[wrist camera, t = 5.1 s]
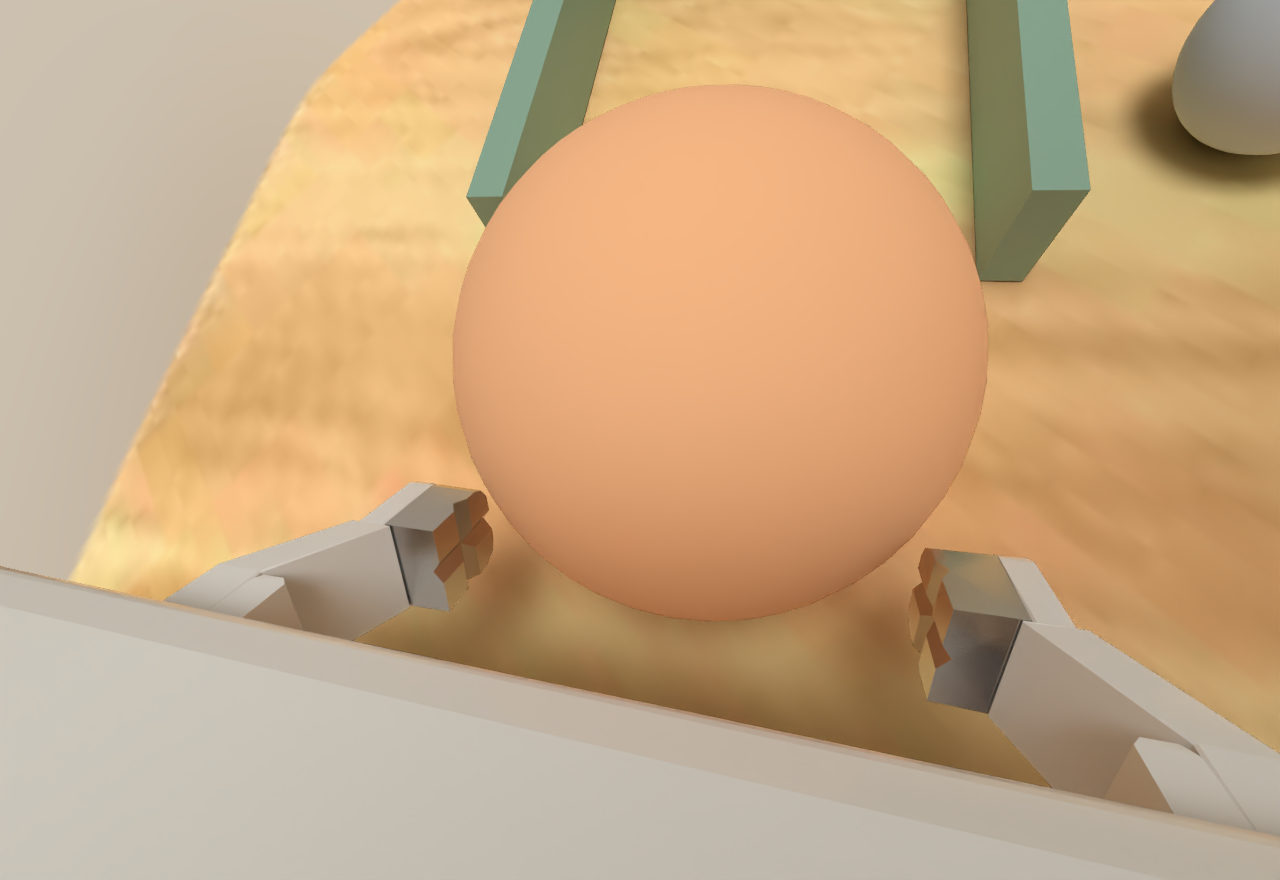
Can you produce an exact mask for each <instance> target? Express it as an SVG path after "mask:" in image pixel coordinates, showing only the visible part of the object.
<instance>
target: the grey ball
mask: <svg viewBox="0 0 1280 880" xmlns="http://www.w3.org/2000/svg"><path fill="white" fill-rule="evenodd" d="M1172 96H1173V105H1174V108H1175V111H1176V114H1177V116H1178V118H1179V120H1180V122H1181V124H1182V125H1183V126H1184V128H1185V129H1186V130H1187V131H1188V132H1189V133H1190V134H1191V135H1192V136H1193V137H1195V138H1196V139H1197V140H1199V141H1200V142H1202V143H1204V144H1205V145H1208V146H1210V147H1212V148H1215V149H1217V150H1221V151H1224V152H1229V153H1234V154H1243V155H1271V154H1278V153H1280V0H1215V1H1214V2H1213V3H1212V4H1211V5H1210V7H1209V8H1208V9H1207V10H1206V11H1205V13H1204V14H1203V15H1202V16H1201V18H1200V19H1199V20H1198V22H1197V23H1196V25H1195V26H1194V28H1193V30H1192V31H1191V33H1190V34H1189V36H1188V38H1187V39H1186V41H1185V43H1184V45H1183V47H1182V50H1181V52H1180V54H1179V57H1178V60H1177V63H1176V66H1175V70H1174V75H1173V83H1172Z"/></svg>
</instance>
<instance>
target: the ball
mask: <svg viewBox="0 0 1280 880" xmlns="http://www.w3.org/2000/svg"><path fill="white" fill-rule="evenodd" d="M987 362H988V322H987V316H986V309H985V303H984V297H983V292H982V288H981V284H980V280H979V276H978V272H977V269H976V266H975V263H974V260H973V257H972V254H971V251H970V248H969V245H968V243H967V241H966V239H965V237H964V235H963V234H962V232H961V230H960V228H959V226H958V224H957V223H956V221H955V219H954V217H953V215H952V213H951V212H950V210H949V208H948V206H947V205H946V203H945V201H944V199H943V198H942V196H941V195H940V194H939V192H938V191H937V190H936V188H935V187H934V186H933V185H932V183H931V182H930V181H929V179H928V178H927V177H926V175H925V174H923V173H922V172H921V171H920V170H919V169H918V168H917V167H916V166H915V165H914V164H913V163H912V162H911V161H910V160H909V159H908V158H907V157H906V156H905V155H904V154H903V153H902V152H901V151H900V150H899V149H898V148H897V147H896V146H894V145H893V144H892V143H891V142H890V141H889V140H888V139H886V138H885V137H884V136H882V135H881V134H879V133H878V132H877V131H875V130H874V129H872V128H871V127H870V126H868V125H866V124H864V123H862V122H861V121H859V120H857V119H855V118H853V117H852V116H850V115H848V114H846V113H844V112H842V111H840V110H838V109H836V108H834V107H831V106H829V105H827V104H824V103H822V102H819V101H817V100H814V99H812V98H809V97H806V96H803V95H799V94H796V93H792V92H789V91H785V90H779V89H773V88H767V87H762V86H749V85H704V86H694V87H685V88H680V89H674V90H669V91H664V92H661V93H657V94H653V95H649V96H646V97H643V98H640V99H637V100H635V101H632V102H629V103H626V104H624V105H621V106H619V107H617V108H615V109H613V110H610V111H608V112H606V113H604V114H602V115H600V116H598V117H596V118H594V119H592V120H591V121H589V122H587V123H585V124H584V125H582V126H580V127H578V128H577V129H575V130H574V131H573V132H571V133H570V134H568V135H567V136H565V137H564V138H563V139H561V140H560V141H558V142H557V143H556V144H555V145H554V146H553V147H551V148H550V149H549V150H548V151H547V152H545V153H544V154H543V155H542V156H541V157H540V158H539V159H538V160H537V161H536V162H535V163H534V164H533V165H532V166H531V167H530V168H529V169H528V170H527V172H526V173H525V174H524V175H523V176H522V177H521V178H520V179H519V180H518V181H517V183H516V184H515V185H514V186H513V187H512V189H511V190H510V191H509V193H508V194H507V195H506V196H505V198H504V199H503V200H502V202H501V203H500V204H499V206H498V208H497V209H496V211H495V213H494V214H493V216H492V217H491V219H490V221H489V222H488V224H487V226H486V228H485V230H484V232H483V234H482V236H481V238H480V240H479V243H478V245H477V247H476V249H475V251H474V254H473V256H472V258H471V260H470V263H469V265H468V268H467V271H466V275H465V278H464V281H463V285H462V288H461V293H460V297H459V302H458V307H457V312H456V319H455V325H454V332H453V384H454V391H455V398H456V404H457V411H458V415H459V418H460V422H461V425H462V429H463V432H464V435H465V439H466V442H467V445H468V448H469V452H470V455H471V458H472V460H473V462H474V464H475V466H476V468H477V470H478V472H479V474H480V476H481V478H482V480H483V482H484V484H485V486H486V488H487V490H488V491H489V493H490V495H491V496H492V498H493V500H494V501H495V503H496V504H497V505H498V507H499V508H500V510H501V511H502V513H503V514H504V516H505V517H506V518H507V520H508V521H509V523H510V524H511V525H512V526H513V527H514V528H515V530H516V531H517V532H518V533H519V534H520V535H521V536H522V537H523V538H524V539H525V540H526V541H527V542H528V543H529V544H530V545H531V546H532V548H534V549H535V550H536V551H537V552H538V553H539V554H540V555H541V556H542V557H543V558H545V559H546V560H547V561H549V562H550V563H551V564H552V565H554V566H555V567H556V568H557V569H559V570H560V571H561V572H563V573H564V574H565V575H566V576H568V577H569V578H571V579H572V580H574V581H576V582H578V583H579V584H581V585H583V586H585V587H586V588H588V589H590V590H592V591H593V592H595V593H597V594H599V595H601V596H604V597H606V598H609V599H611V600H614V601H616V602H619V603H621V604H624V605H626V606H629V607H631V608H635V609H638V610H642V611H646V612H650V613H654V614H658V615H663V616H667V617H671V618H679V619H689V620H698V621H733V620H746V619H752V618H758V617H764V616H770V615H776V614H780V613H783V612H786V611H789V610H793V609H796V608H799V607H802V606H805V605H808V604H811V603H814V602H816V601H818V600H820V599H822V598H824V597H826V596H829V595H831V594H833V593H835V592H837V591H839V590H841V589H843V588H845V587H847V586H849V585H851V584H853V583H855V582H856V581H858V580H859V579H861V578H862V577H864V576H865V575H867V574H868V573H870V572H871V571H873V570H874V569H876V568H877V567H879V566H880V565H882V564H883V563H885V562H886V561H887V560H888V559H889V558H890V557H891V556H892V555H893V554H894V553H896V552H897V551H898V550H899V549H900V548H901V547H902V546H903V545H904V544H905V543H907V542H908V541H909V540H910V539H911V538H912V537H913V536H914V534H915V533H916V532H917V531H918V529H919V528H920V527H921V526H922V524H923V523H924V522H925V521H926V519H927V518H928V517H929V516H930V515H931V513H932V512H933V511H934V510H935V508H936V507H937V506H938V504H939V503H940V502H941V500H942V499H943V498H944V496H945V494H946V493H947V491H948V489H949V487H950V486H951V484H952V482H953V481H954V479H955V477H956V475H957V474H958V472H959V470H960V468H961V467H962V464H963V462H964V459H965V456H966V454H967V451H968V448H969V446H970V443H971V440H972V438H973V435H974V432H975V429H976V426H977V423H978V420H979V417H980V414H981V409H982V404H983V398H984V393H985V388H986V383H987Z"/></svg>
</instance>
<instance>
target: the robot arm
mask: <svg viewBox="0 0 1280 880" xmlns="http://www.w3.org/2000/svg"><path fill="white" fill-rule="evenodd" d="M488 511H489V508H488V503H487V498H486V495H485V494H484V493H483V492H481V491H479V490H473V489H466V488H459V487H452V486H446V485H437V484H433V483H424V482H410V483H409V484H408V485H406V486H405V487H404V488H402V489H401V490H400V491H398V492H397V493H396V494H394V495H393V496H392V497H391V498H389V499H388V500H387V501H385V502H384V503H383V504H381V505H380V506H379V507H378V508H376V509H375V510H374V511H372V512H371V513H370V514H368V515H367V516H366V517H364V518H363V519H362V520H361V521H349V522H346V523H343V524H340V525H337V526H334V527H331V528H328V529H325V530H322V531H319V532H316V533H313V534H310V535H306V536H303V537H300V538H297V539H294V540H291V541H288V542H285V543H282V544H279V545H276V546H273V547H270V548H267V549H263V550H260V551H257V552H254V553H251V554H248V555H245V556H242V557H239V558H236V559H233V560H230V561H227V562H224V563H221V564H218V565H217V566H215V567H214V568H212V569H211V570H209V571H207V572H206V573H204V574H203V575H201V576H200V577H198V578H197V579H195V580H194V581H192V582H191V583H189V584H188V585H186V586H185V587H183V588H182V589H180V590H179V591H177V592H176V593H174V594H173V595H171V596H170V597H168V598H167V599H165V600H164V601H161V600H156V599H152V598H147V597H142V596H137V595H133V594H128V593H123V592H118V591H114V590H109V589H104V588H100V587H95V586H90V585H85V584H81V583H76V582H71V581H66V580H61V579H57V578H52V577H47V576H42V575H38V574H33V573H29V572H23V571H19V570H15V569H10V568H6V567H2V566H0V880H1280V754H1279V753H1278V752H1276V751H1274V750H1273V749H1271V748H1270V747H1268V746H1267V745H1265V744H1264V743H1262V742H1261V741H1259V740H1257V739H1256V738H1254V737H1253V736H1251V735H1250V734H1248V733H1247V732H1245V731H1243V730H1242V729H1240V728H1239V727H1237V726H1236V725H1234V724H1233V723H1231V722H1230V721H1228V720H1226V719H1225V718H1223V717H1222V716H1220V715H1219V714H1217V713H1216V712H1214V711H1213V710H1211V709H1209V708H1208V707H1206V706H1205V705H1203V704H1202V703H1200V702H1199V701H1197V700H1196V699H1194V698H1192V697H1191V696H1189V695H1188V694H1186V693H1185V692H1183V691H1182V690H1180V689H1178V688H1177V687H1175V686H1174V685H1172V684H1171V683H1169V682H1168V681H1166V680H1165V679H1163V678H1161V677H1160V676H1158V675H1157V674H1155V673H1154V672H1152V671H1151V670H1149V669H1148V668H1146V667H1144V666H1143V665H1141V664H1140V663H1138V662H1137V661H1135V660H1134V659H1132V658H1131V657H1129V656H1127V655H1126V654H1124V653H1123V652H1121V651H1120V650H1118V649H1117V648H1115V647H1113V646H1112V645H1110V644H1109V643H1107V642H1106V641H1104V640H1103V639H1101V638H1100V637H1098V636H1096V635H1095V634H1093V633H1092V632H1090V631H1088V630H1082V629H1077V628H1076V626H1075V625H1074V623H1073V622H1072V620H1071V618H1070V617H1069V615H1068V614H1067V612H1066V611H1065V609H1064V608H1063V606H1062V604H1061V603H1060V601H1059V600H1058V598H1057V597H1056V595H1055V594H1054V592H1053V590H1052V589H1051V587H1050V586H1049V584H1048V583H1047V581H1046V580H1045V578H1044V576H1043V575H1042V573H1041V572H1040V570H1039V569H1038V567H1037V566H1036V564H1035V562H1033V561H1032V560H1030V559H1028V558H1022V557H1011V556H1001V555H987V554H978V553H968V552H959V551H950V550H940V549H931V548H925V549H924V551H923V553H922V555H921V559H920V563H919V566H918V569H919V572H920V576H921V579H922V583H921V584H919V585H918V586H917V587H915V588H914V589H913V591H912V596H911V600H910V605H909V631H910V637H911V641H912V645H913V646H914V647H915V648H916V649H917V650H918V651H919V652H920V653H921V657H920V660H919V664H918V669H919V673H920V677H921V681H922V684H923V688H924V692H925V696H926V700H927V701H931V702H936V703H940V704H945V705H950V706H954V707H959V708H964V709H969V710H973V711H978V712H983V713H987V714H988V717H989V718H990V719H991V720H992V722H993V723H994V724H995V725H996V726H997V727H998V728H999V729H1000V730H1001V732H1002V733H1003V734H1004V735H1005V736H1006V737H1007V738H1008V739H1009V740H1010V742H1011V743H1012V744H1013V745H1014V746H1015V747H1016V748H1017V749H1018V750H1019V752H1020V753H1021V754H1022V755H1023V756H1024V757H1025V758H1026V759H1027V760H1028V762H1029V763H1030V764H1031V765H1032V766H1033V767H1034V768H1035V769H1036V770H1037V772H1038V773H1039V774H1040V775H1041V776H1042V777H1043V778H1044V779H1045V780H1046V782H1047V783H1048V784H1049V785H1050V786H1051V787H1052V788H1048V787H1044V786H1039V785H1034V784H1029V783H1025V782H1020V781H1015V780H1010V779H1006V778H1001V777H996V776H991V775H987V774H982V773H977V772H972V771H967V770H962V769H957V768H952V767H948V766H943V765H938V764H933V763H929V762H924V761H919V760H914V759H910V758H905V757H900V756H896V755H891V754H886V753H881V752H877V751H872V750H867V749H862V748H858V747H853V746H848V745H844V744H839V743H834V742H829V741H825V740H820V739H815V738H811V737H806V736H801V735H796V734H792V733H787V732H782V731H777V730H773V729H768V728H763V727H759V726H754V725H749V724H744V723H740V722H735V721H730V720H726V719H721V718H716V717H711V716H707V715H702V714H697V713H692V712H688V711H683V710H678V709H674V708H669V707H664V706H659V705H654V704H650V703H645V702H640V701H635V700H631V699H626V698H621V697H616V696H611V695H607V694H602V693H597V692H592V691H587V690H583V689H578V688H573V687H568V686H564V685H559V684H554V683H549V682H544V681H540V680H535V679H530V678H525V677H521V676H516V675H511V674H506V673H502V672H497V671H492V670H487V669H483V668H478V667H473V666H469V665H464V664H459V663H454V662H450V661H445V660H440V659H435V658H431V657H426V656H421V655H416V654H412V653H407V652H402V651H398V650H393V649H388V648H383V647H379V646H374V645H369V644H364V643H360V642H355V641H354V640H356V639H357V638H359V637H361V636H362V635H364V634H366V633H367V632H369V631H371V630H373V629H374V628H376V627H378V626H379V625H381V624H383V623H384V622H386V621H388V620H390V619H391V618H393V617H395V616H396V615H398V614H400V613H401V612H403V611H405V610H406V609H408V608H410V605H411V606H417V607H424V608H430V609H437V610H443V611H450V610H451V609H452V608H453V607H454V606H455V604H456V603H457V602H458V601H459V599H460V598H461V597H462V596H463V595H464V593H465V592H466V591H467V590H468V582H467V580H468V579H470V578H472V577H474V576H477V575H479V574H480V573H481V572H482V571H483V570H484V568H485V567H486V566H487V564H488V562H489V559H490V556H491V553H492V551H493V533H492V528H491V527H490V526H489V525H488V523H487V522H486V521H485V520H484V517H485V515H486V514H487V512H488Z"/></svg>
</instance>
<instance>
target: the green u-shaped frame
mask: <svg viewBox="0 0 1280 880" xmlns="http://www.w3.org/2000/svg"><path fill="white" fill-rule="evenodd" d="M614 4H615V0H533V2H532V5H531V8H530V11H529V14H528V17H527V20H526V23H525V26H524V29H523V31H522V34H521V37H520V40H519V43H518V46H517V49H516V52H515V55H514V58H513V61H512V64H511V67H510V70H509V73H508V76H507V79H506V81H505V84H504V87H503V90H502V93H501V96H500V99H499V102H498V105H497V108H496V111H495V114H494V117H493V120H492V123H491V126H490V129H489V132H488V134H487V137H486V140H485V143H484V146H483V149H482V152H481V155H480V158H479V161H478V164H477V167H476V170H475V173H474V176H473V179H472V182H471V184H470V187H469V190H468V193H467V196H466V197H467V199H468V200H469V202H470V204H471V205H472V207H473V208H474V210H475V211H476V213H477V215H478V216H479V218H480V219H481V221H482V222H483V224H484V226H485V227H486V226H487V224H488V222H489V221H490V219H491V217H492V216H493V214H494V213H495V211H496V209H497V208H498V206H499V204H500V203H501V202H502V200H503V199H504V198H505V196H506V195H507V194H508V193H509V191H510V190H511V189H512V187H513V186H514V185H515V184H516V183H517V181H518V180H519V179H520V178H521V177H522V176H523V175H524V174H525V173H526V172H527V170H528V169H529V168H530V167H531V166H532V165H533V164H534V163H535V162H536V161H537V160H538V159H539V158H540V157H541V156H542V155H543V154H544V153H545V152H547V151H548V150H549V149H550V148H551V147H553V146H554V145H555V144H556V143H557V142H558V141H560V140H561V139H563V138H564V137H565V136H567V135H568V134H570V133H571V132H573V131H574V130H575V129H577V128H578V127H580V126H582V123H583V120H584V116H585V112H586V108H587V105H588V101H589V97H590V94H591V90H592V86H593V82H594V79H595V75H596V71H597V67H598V64H599V60H600V56H601V53H602V49H603V45H604V41H605V38H606V34H607V30H608V26H609V23H610V19H611V15H612V12H613V8H614ZM967 20H968V48H969V75H970V103H971V130H972V158H973V186H974V213H975V241H976V268H977V272H978V276H979V280H982V281H1023V280H1024V279H1025V277H1026V276H1027V274H1028V273H1029V272H1030V270H1031V269H1032V268H1033V266H1034V265H1035V264H1036V262H1037V261H1038V260H1039V258H1040V257H1041V256H1042V254H1043V253H1044V252H1045V250H1046V249H1047V248H1048V246H1049V245H1050V244H1051V242H1052V241H1053V240H1054V238H1055V237H1056V235H1057V234H1058V233H1059V231H1060V230H1061V229H1062V227H1063V226H1064V225H1065V223H1066V222H1067V221H1068V219H1069V218H1070V217H1071V215H1072V214H1073V213H1074V211H1075V210H1076V209H1077V207H1078V206H1079V205H1080V203H1081V202H1082V200H1083V199H1084V198H1085V196H1086V195H1087V194H1088V192H1089V191H1090V182H1089V174H1088V166H1087V157H1086V149H1085V141H1084V133H1083V125H1082V117H1081V109H1080V101H1079V93H1078V84H1077V76H1076V68H1075V60H1074V52H1073V44H1072V36H1071V28H1070V20H1069V11H1068V3H1067V0H967Z"/></svg>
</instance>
